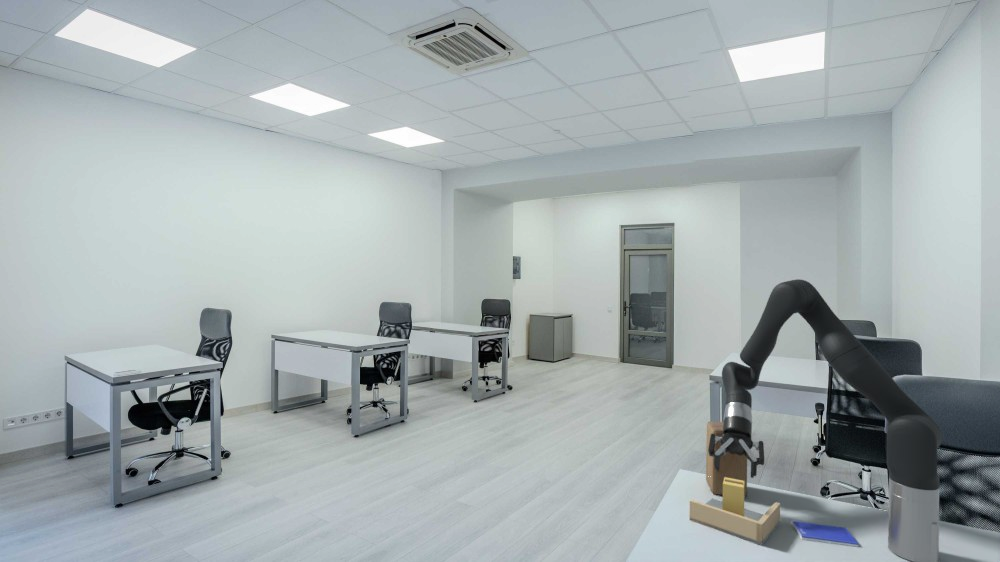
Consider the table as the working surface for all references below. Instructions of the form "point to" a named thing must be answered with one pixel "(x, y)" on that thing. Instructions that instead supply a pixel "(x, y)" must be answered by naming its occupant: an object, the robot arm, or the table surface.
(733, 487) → the mustard block
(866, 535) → the table surface
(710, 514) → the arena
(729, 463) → the wooden block
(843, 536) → the hard drive
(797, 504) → the table surface
